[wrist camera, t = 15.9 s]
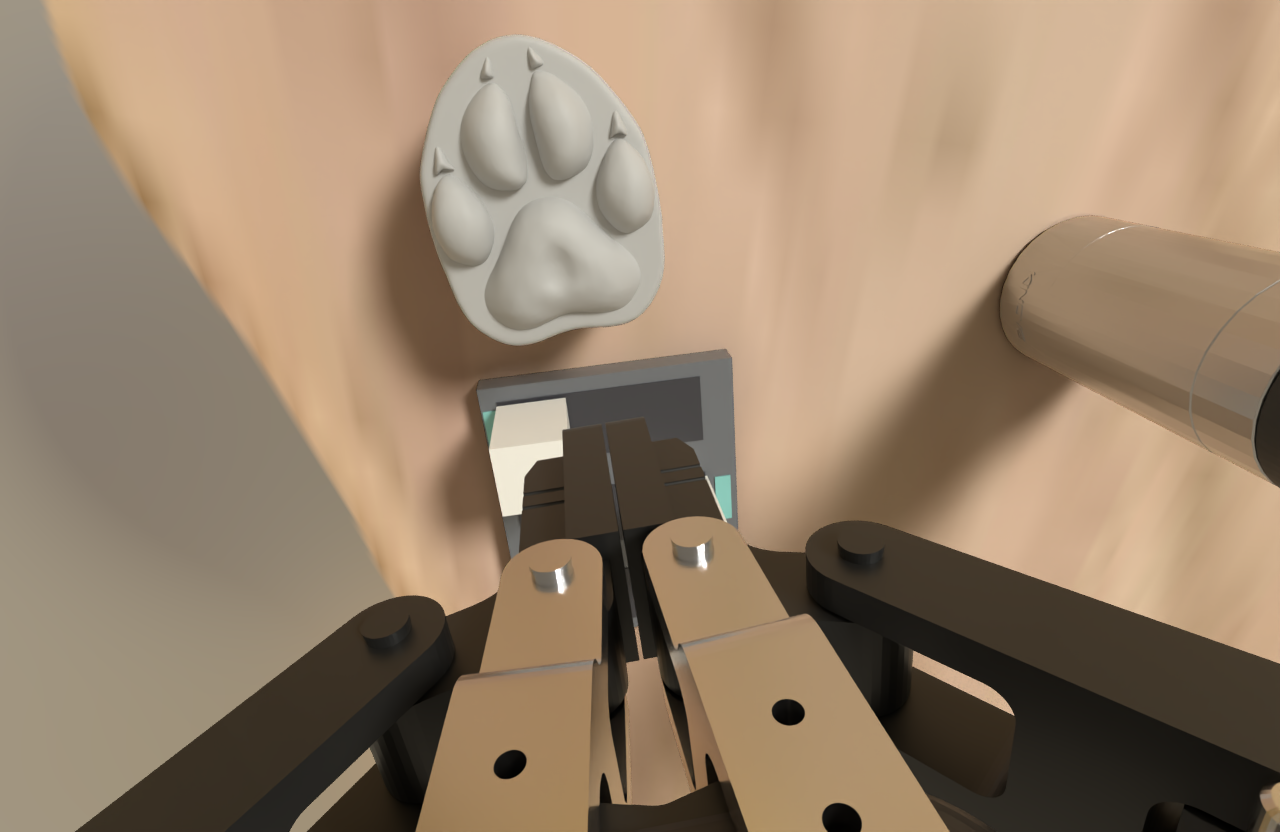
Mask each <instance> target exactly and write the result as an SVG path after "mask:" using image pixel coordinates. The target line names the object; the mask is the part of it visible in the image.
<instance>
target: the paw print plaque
mask: <svg viewBox="0 0 1280 832" xmlns="http://www.w3.org/2000/svg"><path fill="white" fill-rule="evenodd" d="M420 185H421V192H422V197H423V202H424V207H425V212H426V217H427V221H428V225H429V229H430V232H431V236H432V239H433V242H434V245H435V248H436V251H437V254H438V257H439V260H440V262H441V265H442V267H443V270H444V272H445V274H446V276H447V279H448V282H449V284H450V287H451V289H452V291H453V294H454V296H455V298H456V301H457V303H458V305H459V306H460V308H461V310H462V312H463V313H464V315H465V316H466V318H467V319H468V320H469V322H470V323H471V324H472V325H473V326H474V327H476V328H477V329H478V330H479V331H481V332H482V333H484V334H485V335H487V336H488V337H490V338H492V339H494V340H496V341H498V342H501V343H504V344H507V345H514V346H522V345H529V344H533V343H537V342H540V341H543V340H545V339H547V338H550V337H553V336H555V335H557V334H560V333H563V332H566V331H570V330H574V329H580V328H593V327H611V326H617V325H622V324H625V323H628V322H630V321H632V320H634V319H636V318H637V317H639V316H640V315H641V314H642V313H643V312H644V311H645V310H646V309H647V308H648V306H649V305H650V304H651V302H652V301H653V299H654V297H655V295H656V293H657V291H658V289H659V286H660V283H661V280H662V276H663V271H664V260H665V256H664V240H663V228H662V214H661V207H660V200H659V194H658V189H657V184H656V179H655V174H654V170H653V165H652V161H651V158H650V153H649V150H648V146H647V143H646V141H645V138H644V135H643V133H642V131H641V129H640V127H639V125H638V124H637V122H636V120H635V119H634V118H633V116H632V115H631V113H630V112H629V110H628V109H627V108H626V106H625V105H624V104H623V102H622V101H621V100H620V99H619V97H618V96H617V95H616V94H615V92H614V91H613V90H612V89H611V88H610V87H609V85H608V84H607V83H606V82H605V81H604V80H603V79H602V78H601V77H600V75H599V74H598V73H597V72H596V71H594V70H593V69H592V68H591V67H590V66H589V65H587V64H586V63H585V62H583V61H582V60H581V59H579V58H578V57H576V56H575V55H573V54H572V53H570V52H568V51H566V50H564V49H562V48H560V47H559V46H557V45H555V44H552V43H550V42H548V41H545V40H542V39H540V38H536V37H532V36H527V35H506V36H501V37H497V38H494V39H491V40H489V41H487V42H485V43H484V44H482V45H480V46H479V47H477V48H476V49H474V50H473V51H471V52H470V53H469V54H468V55H467V56H466V57H465V58H464V59H463V60H462V62H461V63H460V64H459V65H458V66H457V67H456V69H455V70H454V71H453V73H452V74H451V76H450V77H449V78H448V80H447V82H446V83H445V85H444V86H443V88H442V89H441V91H440V93H439V95H438V97H437V100H436V102H435V105H434V108H433V111H432V114H431V117H430V121H429V125H428V129H427V133H426V138H425V142H424V147H423V152H422V158H421V165H420Z"/></svg>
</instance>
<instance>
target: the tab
mask: <svg viewBox="0 0 1280 832" xmlns="http://www.w3.org/2000/svg"><path fill="white" fill-rule="evenodd" d="M564 429H570V424H569V417H568V410H567V404H566V398H559V399H552V400H544V401H536V402H528V403H521V404H513V405H505V406H498V407H496V412H495V418H494V424H493V429H492V435H491V441H490V447H489V453H490V458H491V462H492V467H493V472H494V477H495V482H496V487H497V492H498V496H499V501H500V506H501V511H502V516H503V517H504V516H511V515H518V514H522V510H523V509H522V503H523V497H524V495H523V489H524V477H525V475H526V474H527V473H528V472H529V470H530V469H531V468H532V467H533V465H534V464H535V463H536V461H538V460H544V459H550V458H556V457H562V456H563V440H562V430H564Z"/></svg>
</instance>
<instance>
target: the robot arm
mask: <svg viewBox="0 0 1280 832" xmlns="http://www.w3.org/2000/svg"><path fill="white" fill-rule="evenodd" d="M1000 318H1001V323H1002V328H1003V330H1004V332H1005V335H1006V337H1007V339H1008V340H1009V342H1010V343H1011V344H1012V345H1013V346H1014V347H1015V348H1016V349H1017V350H1018V351H1020V352H1021V353H1023V354H1024V355H1026V356H1028V357H1030V358H1031V359H1033V360H1035V361H1037V362H1039V363H1041V364H1043V365H1045V366H1047V367H1049V368H1051V369H1053V370H1054V371H1056V372H1058V373H1060V374H1062V375H1064V376H1065V377H1067V378H1069V379H1071V380H1073V381H1075V382H1077V383H1079V384H1081V385H1083V386H1085V387H1087V388H1088V389H1090V390H1092V391H1094V392H1096V393H1098V394H1100V395H1102V396H1104V397H1106V398H1108V399H1110V400H1112V401H1113V402H1115V403H1117V404H1119V405H1121V406H1123V407H1125V408H1127V409H1129V410H1131V411H1133V412H1135V413H1137V414H1138V415H1140V416H1142V417H1144V418H1146V419H1148V420H1150V421H1152V422H1154V423H1156V424H1158V425H1160V426H1162V427H1163V428H1165V429H1167V430H1169V431H1171V432H1173V433H1175V434H1177V435H1179V436H1181V437H1183V438H1185V439H1187V440H1189V441H1190V442H1192V443H1194V444H1196V445H1198V446H1200V447H1202V448H1204V449H1206V450H1208V451H1210V452H1212V453H1214V454H1216V455H1218V456H1220V457H1222V458H1224V459H1226V460H1228V461H1230V462H1231V463H1233V464H1235V465H1237V466H1239V467H1241V468H1243V469H1245V470H1247V471H1249V472H1251V473H1253V474H1254V475H1256V476H1258V477H1260V478H1262V479H1264V480H1266V481H1268V482H1270V483H1272V484H1274V485H1276V486H1278V487H1279V488H1280V252H1276V251H1271V250H1266V249H1261V248H1256V247H1251V246H1246V245H1241V244H1236V243H1231V242H1226V241H1221V240H1216V239H1211V238H1206V237H1201V236H1196V235H1191V234H1186V233H1181V232H1176V231H1171V230H1166V229H1161V228H1158V227H1153V226H1148V225H1143V224H1137V223H1132V222H1127V221H1122V220H1117V219H1112V218H1107V217H1100V216H1093V215H1091V216H1081V217H1075V218H1072V219H1069V220H1066V221H1063V222H1060V223H1058V224H1057V225H1055V226H1053V227H1051V228H1049V229H1047V230H1046V231H1044V232H1043V233H1042V234H1041V235H1039V236H1038V237H1037V238H1036V239H1034V240H1033V241H1032V242H1031V243H1030V244H1029V245H1028V246H1027V248H1026V249H1025V250H1024V251H1023V252H1022V253H1021V254H1020V256H1019V257H1018V259H1017V260H1016V262H1015V263H1014V265H1013V266H1012V268H1011V269H1010V272H1009V274H1008V276H1007V279H1006V281H1005V283H1004V286H1003V291H1002V295H1001V299H1000ZM605 426H606V432H607V438H608V445H609V451H610V457H611V463H612V470H613V476H614V482H615V488H616V495H617V501H618V507H619V513H620V520H621V526H622V532H623V538H624V544H625V550H626V556H627V562H628V568H629V574H630V580H631V586H632V592H633V598H634V604H635V610H636V616H637V622H638V628H639V634H640V640H641V646H642V652H643V658H644V659H647V658H653V657H657V658H658V664H659V669H660V674H661V681H662V687H663V694H664V700H665V705H666V708H667V712H668V715H669V719H670V722H671V726H672V729H673V733H674V736H675V740H676V743H677V746H678V750H679V753H680V757H681V760H682V764H683V767H684V771H685V774H686V778H687V781H688V785H689V788H690V791H691V793H690V794H688V795H686V796H684V797H681V798H679V799H677V800H675V801H673V802H670V803H668V804H664V805H659V806H644V805H632V791H631V762H630V732H629V708H628V702H627V696H626V693H627V689H628V674H627V667H626V663H627V662H632V661H638V660H639V655H638V648H637V642H636V636H635V629H634V623H633V617H632V610H631V604H630V598H629V592H628V585H627V579H626V573H625V566H624V560H623V554H622V547H621V541H620V535H619V528H618V522H617V516H616V510H615V504H614V497H613V491H612V485H611V479H610V473H609V467H608V460H607V454H606V448H605V442H604V436H603V430H602V424H595V425H589V426H583V427H577V428H570V429H564V430H562V440H563V456H562V457H556V458H550V459H544V460H538V461H536V463H535V464H534V465H533V467H532V468H531V469H530V470H529V472H528V473H527V474H526V475H525V477H524V489H523V495H524V497H523V503H522V509H523V510H522V516H521V530H520V543H519V553H518V554H517V555H516V556H515V557H513V558H512V559H511V560H510V561H509V562H508V564H507V565H506V566H505V568H504V570H503V572H502V575H501V579H500V584H499V588H498V592H497V593H495V594H494V595H492V596H491V597H489V598H487V599H486V600H484V601H482V602H480V603H478V604H476V605H473V606H471V607H468V608H466V609H463V610H461V611H458V612H456V613H453V614H451V615H448V616H445V613H444V610H443V608H442V607H441V605H440V604H439V603H438V602H436V601H435V600H433V599H431V598H427V597H424V596H402V597H396V598H392V599H389V600H386V601H383V602H380V603H377V604H375V605H373V606H371V607H369V608H367V609H365V610H364V611H362V612H361V613H359V614H358V615H356V616H355V617H353V618H352V619H351V620H349V621H348V622H347V623H346V624H344V625H343V626H342V627H340V628H339V629H338V630H336V631H335V632H334V633H332V634H331V635H330V636H329V637H327V638H326V639H325V640H323V641H322V642H321V643H319V644H318V645H317V646H316V647H314V648H313V649H312V650H310V651H309V652H308V653H307V654H305V655H304V656H303V657H301V658H300V659H299V660H297V661H296V662H295V663H294V664H292V665H291V666H290V667H288V668H287V669H286V670H284V671H283V672H282V673H280V674H279V675H278V676H277V677H275V678H274V679H273V680H271V681H270V682H269V683H267V684H266V685H265V686H264V687H262V688H261V689H260V690H259V691H257V692H256V693H255V694H253V695H252V696H251V697H249V698H248V699H247V700H245V701H244V702H243V703H242V704H240V705H239V706H238V707H236V708H235V709H234V710H233V711H231V712H230V713H229V714H227V715H226V716H225V717H223V718H222V719H221V720H220V721H218V722H217V723H216V724H214V725H213V726H212V727H210V728H209V729H208V730H206V731H205V732H204V733H203V734H201V735H200V736H199V737H197V738H196V739H195V740H194V741H192V742H191V743H190V744H188V745H187V746H186V747H184V748H183V749H182V750H180V751H179V752H178V753H177V754H175V755H174V756H173V757H171V758H170V759H169V760H167V761H166V762H165V763H164V764H162V765H161V766H160V767H158V768H157V769H156V770H154V771H153V772H152V773H151V774H149V775H148V776H147V777H145V778H144V779H143V780H142V781H140V782H139V783H138V784H136V785H135V786H134V787H133V788H131V789H130V790H129V791H127V792H126V793H125V794H123V795H122V796H121V797H119V798H118V799H117V800H116V801H114V802H113V803H112V804H110V805H109V806H108V807H107V808H105V809H104V810H103V811H101V812H100V813H99V814H97V815H96V816H95V817H93V818H92V819H91V820H90V821H88V822H87V823H86V824H84V825H83V826H82V827H80V828H79V829H78V830H77V831H75V832H289V831H290V829H291V828H292V826H293V824H294V823H295V821H296V819H297V818H298V817H299V815H300V814H301V813H302V812H303V811H304V810H305V809H306V808H307V807H308V806H309V805H310V804H311V803H312V802H313V801H314V800H315V799H316V798H317V797H318V796H319V795H320V794H321V793H322V792H323V791H324V790H325V789H326V788H327V787H328V786H330V784H332V783H333V782H334V781H335V780H336V779H337V778H338V777H339V776H340V775H341V774H342V773H343V772H344V771H345V770H346V769H347V768H348V767H349V766H350V765H351V764H352V763H353V762H355V761H356V760H357V759H358V757H360V756H361V755H362V754H363V753H364V752H365V751H366V750H367V749H368V748H369V747H370V750H371V752H372V754H373V757H374V759H375V762H376V764H375V765H374V766H373V767H372V768H371V769H370V770H369V771H368V772H367V773H366V774H365V775H364V776H363V777H362V778H361V779H359V781H357V783H355V785H353V786H352V788H351V789H349V790H348V791H347V792H346V793H345V794H344V795H343V796H342V797H341V798H340V799H339V800H338V802H337V803H335V804H334V805H333V806H332V807H331V808H330V809H329V810H328V811H327V812H326V813H325V814H324V815H323V816H322V817H321V818H320V819H319V820H318V821H317V822H316V823H315V824H314V825H313V826H312V827H311V828H310V829H309V830H308V831H307V832H1280V664H1279V663H1276V662H1273V661H1270V660H1267V659H1265V658H1262V657H1259V656H1256V655H1253V654H1250V653H1248V652H1245V651H1242V650H1239V649H1236V648H1233V647H1230V646H1228V645H1225V644H1222V643H1219V642H1216V641H1213V640H1210V639H1208V638H1205V637H1202V636H1199V635H1196V634H1193V633H1191V632H1188V631H1185V630H1182V629H1179V628H1176V627H1173V626H1171V625H1168V624H1165V623H1162V622H1159V621H1156V620H1153V619H1151V618H1148V617H1145V616H1142V615H1139V614H1136V613H1134V612H1131V611H1128V610H1125V609H1122V608H1119V607H1116V606H1114V605H1111V604H1108V603H1105V602H1102V601H1099V600H1096V599H1094V598H1091V597H1088V596H1085V595H1082V594H1079V593H1077V592H1074V591H1071V590H1068V589H1065V588H1062V587H1059V586H1057V585H1054V584H1051V583H1048V582H1045V581H1042V580H1039V579H1037V578H1034V577H1031V576H1028V575H1025V574H1022V573H1020V572H1017V571H1014V570H1011V569H1008V568H1005V567H1002V566H1000V565H997V564H994V563H991V562H988V561H985V560H982V559H980V558H977V557H974V556H971V555H968V554H965V553H962V552H960V551H957V550H954V549H951V548H948V547H945V546H943V545H940V544H937V543H934V542H931V541H928V540H925V539H923V538H920V537H917V536H914V535H911V534H908V533H905V532H903V531H900V530H897V529H894V528H891V527H888V526H885V525H882V524H878V523H873V522H867V521H844V522H838V523H833V524H830V525H827V526H825V527H823V528H821V529H819V530H818V531H816V532H815V533H814V534H813V535H812V536H811V537H810V538H809V540H808V542H807V544H806V553H797V552H776V551H768V550H762V549H759V548H755V547H752V546H750V545H747V544H746V542H745V541H744V539H743V537H742V535H741V534H740V533H739V531H738V530H737V529H736V528H735V527H734V526H732V525H731V524H729V523H727V522H725V521H724V520H723V518H722V515H721V513H720V511H719V508H718V506H717V503H716V501H715V499H714V496H713V494H712V491H711V489H710V487H709V484H708V482H707V479H706V478H705V475H704V472H703V470H702V467H700V463H699V460H698V458H697V455H696V453H695V451H694V449H693V448H692V447H690V446H689V445H687V444H686V443H684V442H683V441H681V440H680V439H678V438H671V439H665V440H659V441H653V442H652V441H651V438H650V434H649V431H648V428H647V424H646V421H645V418H644V417H638V418H632V419H625V420H619V421H613V422H607V423H605ZM913 650H914V651H916V652H918V653H920V654H922V655H924V656H927V657H929V658H931V659H933V660H935V661H937V662H939V663H941V664H944V665H946V666H948V667H950V668H952V669H954V670H956V671H959V672H961V673H963V674H965V675H967V676H969V677H971V678H974V679H976V680H978V681H980V682H982V683H984V684H986V685H988V686H989V687H991V688H992V689H994V690H995V691H996V692H998V693H999V694H1000V695H1001V696H1002V697H1003V698H1004V699H1005V700H1006V701H1007V703H1008V704H1009V705H1010V707H1011V709H1012V711H1013V713H1014V715H1015V716H1013V715H1011V714H1009V713H1007V712H1005V711H1003V710H1001V709H999V708H997V707H995V706H993V705H991V704H989V703H987V702H984V701H982V700H980V699H978V698H976V697H974V696H972V695H970V694H968V693H966V692H964V691H962V690H960V689H958V688H956V687H954V686H952V685H949V684H947V683H945V682H943V681H941V680H939V679H937V678H935V677H933V676H931V675H929V674H927V673H925V672H923V671H921V670H919V669H916V668H914V667H912V661H913Z"/></svg>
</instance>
